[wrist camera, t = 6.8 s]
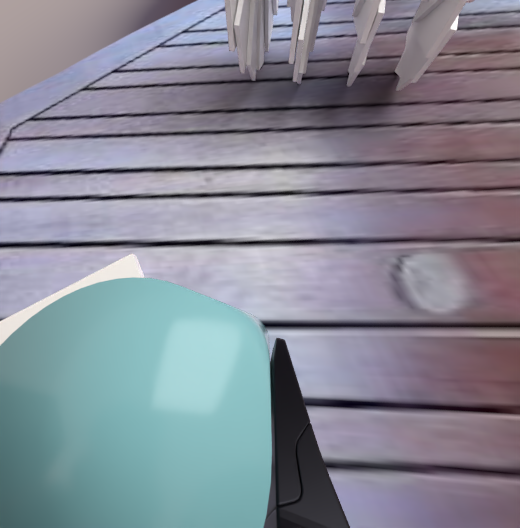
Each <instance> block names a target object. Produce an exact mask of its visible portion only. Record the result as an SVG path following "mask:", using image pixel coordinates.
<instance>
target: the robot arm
mask: <svg viewBox="0 0 520 528" xmlns="http://www.w3.org/2000/svg"><path fill="white" fill-rule="evenodd" d="M270 390H271V434H272V463H271V485H270V492H269V500H268V507H267V514H266V519H265V523H264V527H263V528H350V526H349V524H348V521H347V519H346V516H345V514H344V511H343V509H342V506H341V504H340V501H339V499H338V497H337V494H336V492H335V489H334V487H333V484H332V482H331V479H330V477H329V474H328V471H327V469H326V466H325V464H324V461H323V458H322V456H321V453H320V450H319V447H318V444H317V441H316V438H315V435H314V432H313V429H312V425H311V423H310V419H309V416H308V413H307V410H306V406H305V403H304V400H303V397H302V393H301V390H300V387H299V384H298V381H297V377H296V374H295V371H294V368H293V365H292V361H291V358H290V355H289V352H288V348H287V345H286V342H285V340H284V339H280V338H276V341H275V344H274V348H273V352H272V357H271V362H270Z"/></svg>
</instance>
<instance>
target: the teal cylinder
mask: <svg viewBox="0 0 520 528" xmlns="http://www.w3.org/2000/svg"><path fill="white" fill-rule="evenodd" d="M271 463H272V434H271V390H270V346H269V336H268V332H267V330H266V328H265V326H264V324H263V323H262V322H261V321H260V320H259V319H258V318H257V317H256V316H254V315H252V314H250V313H247V312H245V311H242V310H240V309H237V308H235V307H232V306H230V305H227V304H225V303H222V302H220V301H217V300H215V299H212V298H210V297H207V296H205V295H202V294H199V293H197V292H194V291H192V290H189V289H187V288H184V287H182V286H179V285H176V284H173V283H170V282H167V281H162V280H157V279H152V278H136V277H132V278H119V279H113V280H108V281H103V282H98V283H95V284H92V285H89V286H86V287H83V288H80V289H78V290H76V291H74V292H72V293H70V294H67V295H65V296H63V297H61V298H60V299H58V300H56V301H55V302H53V303H51V304H49V305H48V306H46V307H45V308H43V309H42V310H40V311H39V312H38V313H36V314H35V315H34V316H32V317H31V318H29V319H28V320H27V321H26V322H25V323H24V324H22V325H21V326H20V327H19V328H18V329H17V330H16V331H14V332H13V333H12V334H11V335H10V336H9V337H8V338H7V339H6V340H5V341H4V342H3V343H2V344H1V345H0V528H263V527H264V523H265V519H266V514H267V507H268V500H269V492H270V485H271Z"/></svg>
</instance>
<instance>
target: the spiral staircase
mask: <svg viewBox="0 0 520 528" xmlns="http://www.w3.org/2000/svg"><path fill="white" fill-rule="evenodd" d="M385 1H386V0H356V2H355V6H354V10H353V14H352V16H354V19H353V20H354V24H355V27H356V31H357V35H358V38H357V42H356V45H355V49H354V52H353V55H352V59H351V62H350V65H349V68H348V72H349V77H348V81H347V85H346V86H351V85H352V83H353V82H354V80H355V79H356V77H357V76H358V74H359V73H360V71H361V70H362V68H363V67H364V65H365V61H366V57H367V53H368V50H369V47H370V45H371V43H372V40H373V38H374V36H375V34H376V31H377V29H378V27H379V24H380V22H381V20H382V17H383V15H384V12H385ZM473 1H474V0H422V1H421V3H420V6H419V8H418V10H417V12H416V14H415V16H414V18H413V20H412V25H411V27H410V28H409V30H408V32H407V38H406V46H405V50H404V52H403V54H402V56H401V59H400V61H399V63H398V65H397V67H396V69H395V71H394V72H395V73H397V74H398V75H399V76H400V79H399V82H398V85H397V88H396V90H397V91H400V90H401V89H403V88H404V87H405V86H407V85H408V84H410V83H411V82H413V83H416V82H417V81H418V80H419V78H420V77H421V76H422V74H423V73H424V72H425V70H426V69H427V68H428V67H429V65H430V64H431V63H432V61H433V60H434V59H435V58H436V56H437V55H438V54H439V52H440V51H441V50H442V48H443V47H444V46H445V45H446V43H447V42H448V41H449V39H450V38H451V37H452V36H453V34H454V33H455V32H456V30H457V24H458V15H459V13H460V11H461V10H462V8H463V7H464V5H465V3H466V2H468V3H470V2H473ZM278 2H279V0H225V9H226V20H227V30H228V41H229V51H235V48H236V46H237V52H238V59H239V67H240V73H245V68H246V66H247V68H248V71H249V74H250V77H251V80H253V81H255V78H256V70H260V68H261V67H262V65H263V63H264V47H265V52H268V51H269V45H270V40H271V34H272V28H273V15H277V11H278ZM326 2H327V0H305V1H304V0H287V7H291V20H292V22H293V29H292V38H291V47H290V55H289V63H291V64H293V63H294V57H295V52H296V46H297V52H296V60H295V67H294V75H293V81H294V82H297V84H301V80H302V75H303V73H306V68H307V62H308V57H309V52H313V49H314V44H315V39H316V34H317V30H318V25H319V20H320V16H321V11H324V10H325V6H326ZM303 5H304V7H303ZM309 5H310V6H309ZM308 11H309V12H308ZM302 12H303V13H302ZM307 17H308V18H307ZM306 23H307V24H306ZM300 25H301V26H300ZM305 29H306V31H305ZM299 30H300V32H299ZM304 35H305V37H304ZM298 36H299V38H298ZM297 41H298V45H297ZM303 41H304V43H303ZM302 47H303V49H302ZM301 53H302V55H301ZM300 60H301V61H300ZM299 66H300V67H299ZM298 72H299V74H298ZM297 78H298V80H297Z"/></svg>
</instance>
